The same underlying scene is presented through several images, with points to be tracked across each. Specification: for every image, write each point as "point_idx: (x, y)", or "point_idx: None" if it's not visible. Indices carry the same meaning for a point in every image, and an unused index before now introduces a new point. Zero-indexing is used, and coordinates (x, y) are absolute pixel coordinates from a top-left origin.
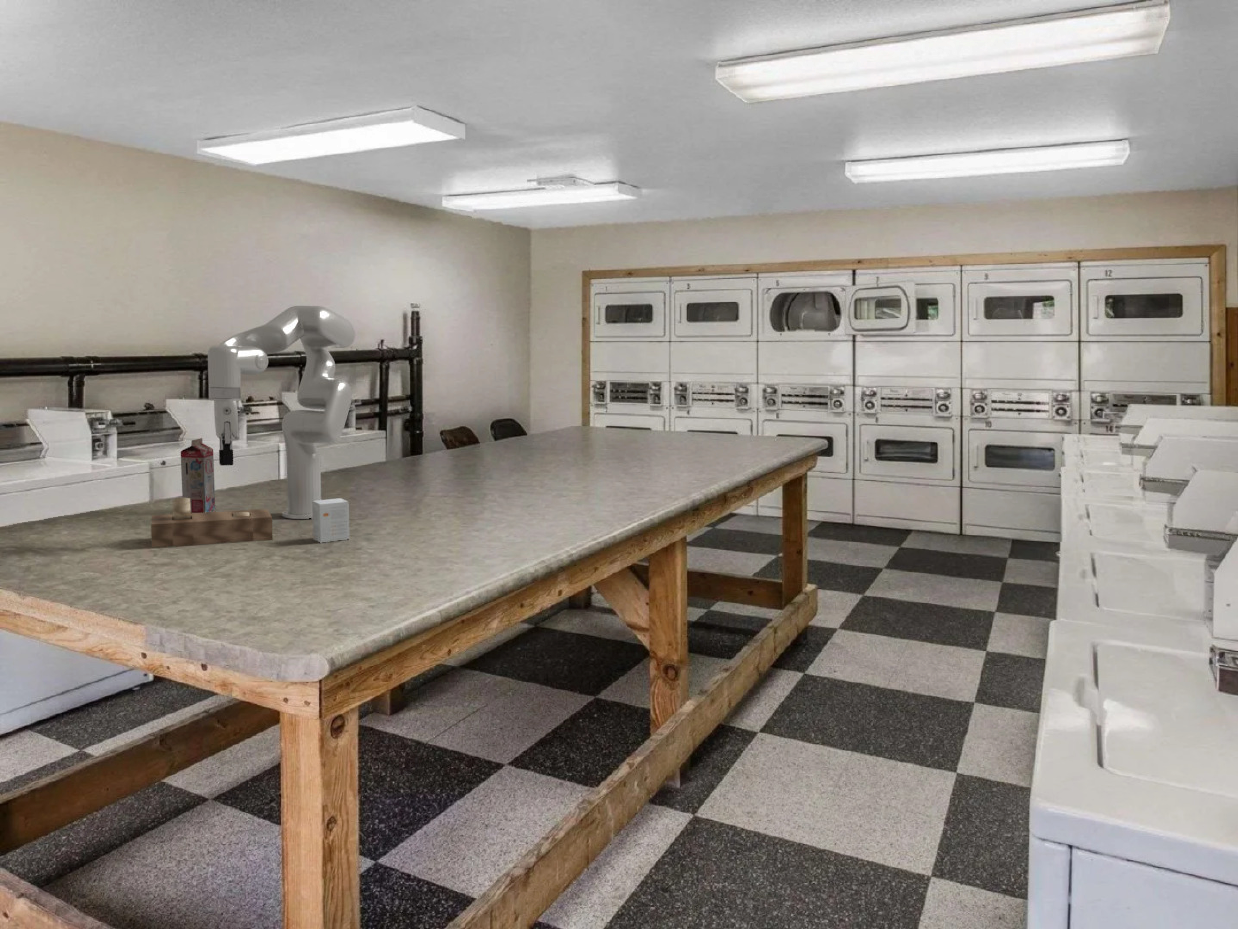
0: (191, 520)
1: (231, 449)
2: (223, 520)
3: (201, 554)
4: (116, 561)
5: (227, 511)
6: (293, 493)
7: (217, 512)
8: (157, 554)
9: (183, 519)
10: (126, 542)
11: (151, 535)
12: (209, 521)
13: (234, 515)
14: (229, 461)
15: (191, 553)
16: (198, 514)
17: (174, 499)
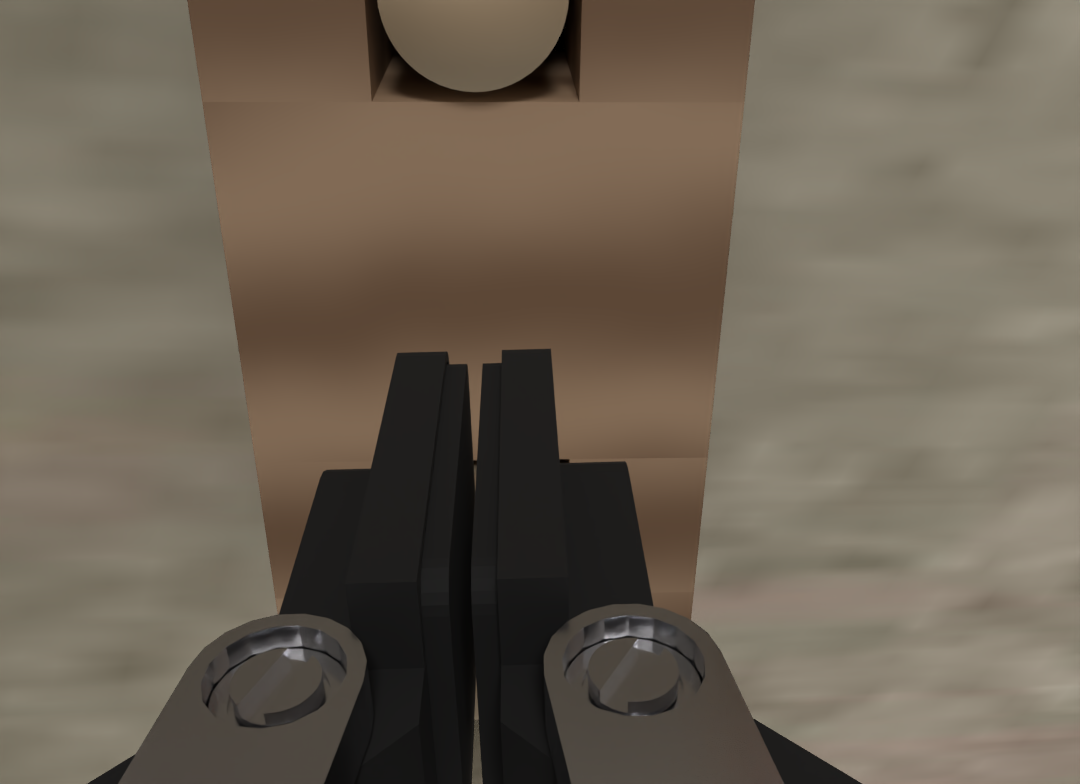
0: (630, 465)
1: (690, 643)
2: (731, 200)
3: (1015, 311)
4: (925, 720)
5: (223, 134)
6: None
7: (266, 239)
8: (856, 553)
9: None
10: None
11: None
12: (719, 325)
13: (523, 76)
14: (619, 467)
15: (942, 372)
16: (336, 409)
17: None
